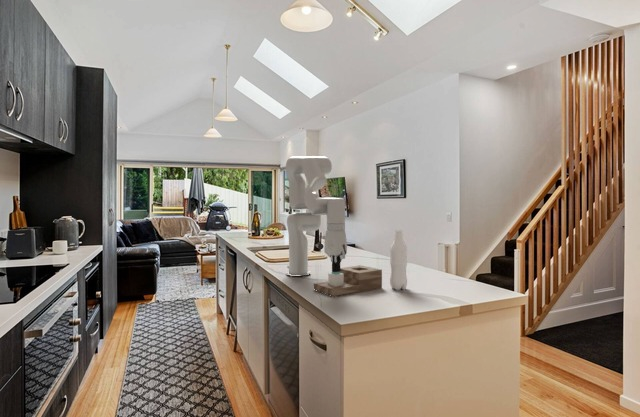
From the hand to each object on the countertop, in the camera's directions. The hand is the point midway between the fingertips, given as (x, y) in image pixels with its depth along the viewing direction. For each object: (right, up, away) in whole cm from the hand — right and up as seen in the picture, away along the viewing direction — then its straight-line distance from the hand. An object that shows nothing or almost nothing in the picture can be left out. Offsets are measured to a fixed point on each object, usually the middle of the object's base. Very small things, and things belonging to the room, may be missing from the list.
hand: (336, 271), depth 161 cm
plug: (0, -8, 0) cm, 8 cm away
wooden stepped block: (+5, -8, +4) cm, 11 cm away
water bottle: (+27, -8, +5) cm, 29 cm away
